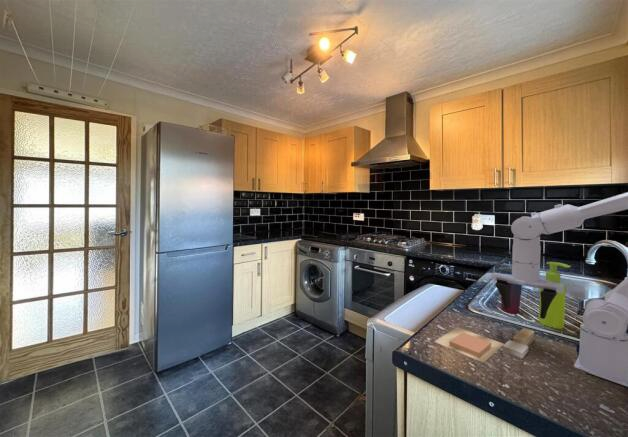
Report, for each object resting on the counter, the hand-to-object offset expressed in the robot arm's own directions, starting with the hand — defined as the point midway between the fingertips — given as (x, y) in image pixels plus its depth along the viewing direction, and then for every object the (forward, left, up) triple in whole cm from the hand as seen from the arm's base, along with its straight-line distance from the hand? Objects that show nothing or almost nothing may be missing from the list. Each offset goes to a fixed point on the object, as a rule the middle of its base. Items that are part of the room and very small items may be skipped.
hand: (524, 312), depth 68 cm
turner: (0, +2, -9) cm, 9 cm away
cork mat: (+9, +11, -9) cm, 17 cm away
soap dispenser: (-2, -23, -9) cm, 25 cm away
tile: (+8, +9, -8) cm, 14 cm away
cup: (+10, -26, -9) cm, 29 cm away
